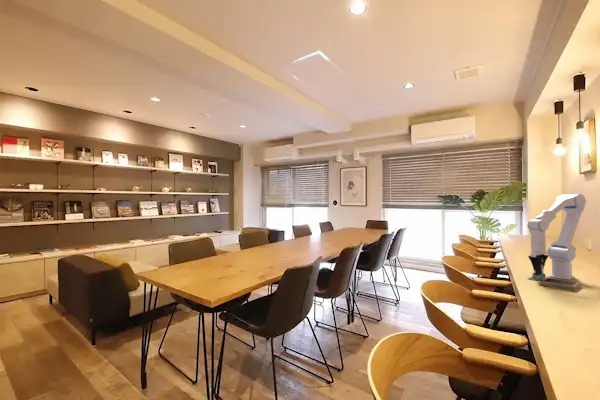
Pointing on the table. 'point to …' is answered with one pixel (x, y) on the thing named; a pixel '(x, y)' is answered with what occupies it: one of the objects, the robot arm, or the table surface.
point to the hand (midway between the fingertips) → (538, 269)
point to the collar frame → (560, 284)
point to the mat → (534, 279)
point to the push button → (539, 272)
